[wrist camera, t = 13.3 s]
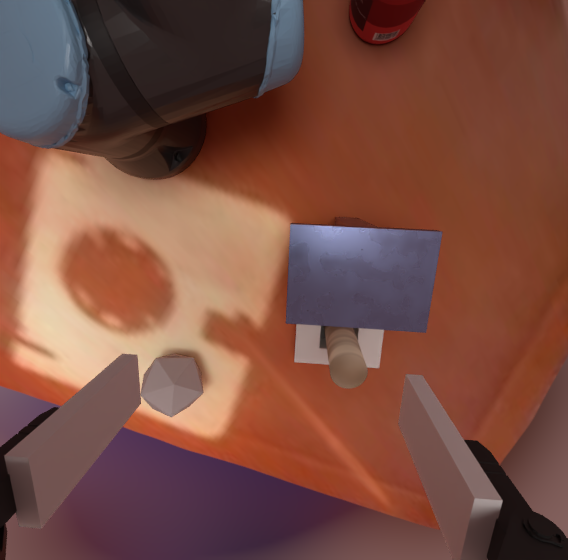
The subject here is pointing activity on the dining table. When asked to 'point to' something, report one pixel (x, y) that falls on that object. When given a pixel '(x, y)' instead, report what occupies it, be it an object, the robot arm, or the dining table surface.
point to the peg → (345, 357)
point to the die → (172, 384)
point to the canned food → (382, 18)
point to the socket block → (315, 350)
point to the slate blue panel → (361, 275)
